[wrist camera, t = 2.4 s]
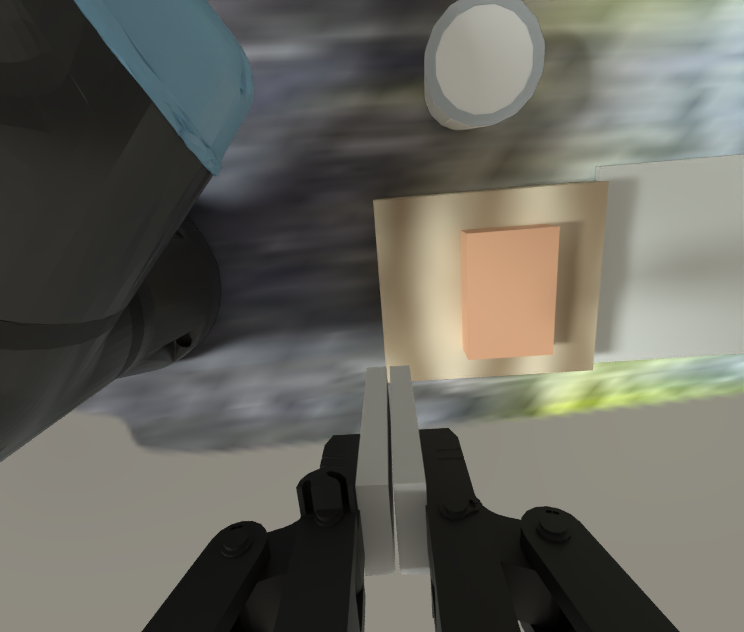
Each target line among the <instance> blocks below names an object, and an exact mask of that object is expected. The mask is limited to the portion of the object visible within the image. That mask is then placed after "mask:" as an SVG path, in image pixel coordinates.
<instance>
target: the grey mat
mask: <svg viewBox="0 0 744 632" xmlns="http://www.w3.org/2000/svg"><path fill="white" fill-rule="evenodd" d="M595 181H609V186H608V197H607V209H606V221H605V233H604V244H603V256H602V268H601V279H600V291H599V303H598V315H597V326H596V338H595V350H594V361H593V363H597V362H613V361H629V360H645V359H662V358H678V357H694V356H710V355H727V354H743V353H744V154H741V155H730V156H718V157H706V158H695V159H683V160H671V161H659V162H648V163H636V164H624V165H613V166H601V167H596V175H595Z"/></svg>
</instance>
